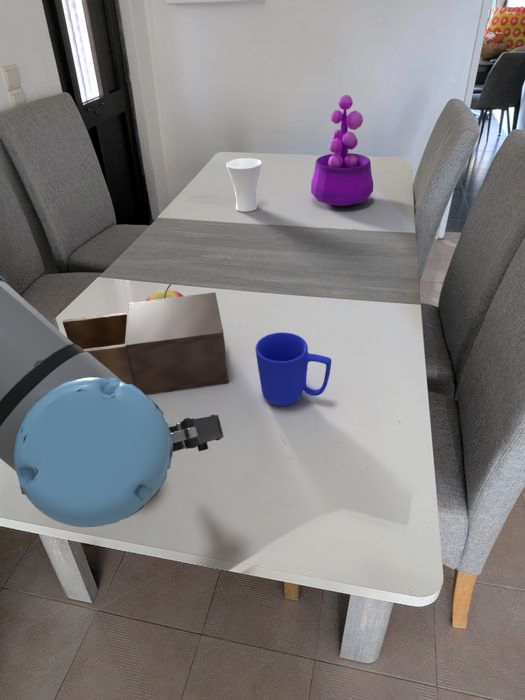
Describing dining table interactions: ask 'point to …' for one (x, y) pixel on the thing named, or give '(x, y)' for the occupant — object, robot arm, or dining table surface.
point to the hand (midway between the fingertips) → (128, 452)
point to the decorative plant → (343, 163)
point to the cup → (245, 182)
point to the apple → (164, 295)
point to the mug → (286, 368)
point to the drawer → (102, 341)
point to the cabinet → (176, 343)
